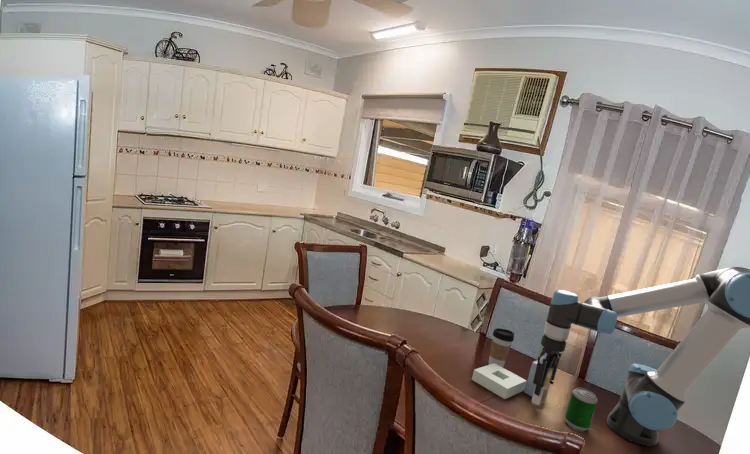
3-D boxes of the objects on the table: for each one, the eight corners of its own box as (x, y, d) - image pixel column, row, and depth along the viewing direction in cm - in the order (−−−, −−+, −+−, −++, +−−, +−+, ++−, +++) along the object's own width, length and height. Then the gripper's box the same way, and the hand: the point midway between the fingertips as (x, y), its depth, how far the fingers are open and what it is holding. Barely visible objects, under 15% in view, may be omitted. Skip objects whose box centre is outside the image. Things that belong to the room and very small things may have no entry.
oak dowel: (544, 407, 147) (554, 368, 145) (539, 410, 145) (549, 371, 143) (534, 401, 150) (544, 364, 148) (529, 404, 147) (539, 366, 145)
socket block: (524, 390, 161) (526, 380, 160) (504, 399, 151) (507, 388, 151) (491, 372, 171) (494, 362, 170) (471, 379, 161) (474, 369, 160)
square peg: (541, 395, 160) (549, 365, 158) (535, 398, 156) (544, 368, 155) (529, 389, 163) (538, 360, 161) (524, 392, 160) (532, 362, 158)
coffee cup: (507, 372, 174) (516, 337, 172) (485, 366, 175) (494, 331, 173) (505, 363, 182) (513, 330, 180) (484, 358, 183) (493, 324, 181)
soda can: (587, 436, 138) (597, 401, 137) (562, 424, 142) (572, 391, 140) (589, 426, 145) (599, 393, 143) (565, 415, 149) (575, 383, 147)
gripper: (554, 328, 152) (539, 390, 155) (532, 335, 141) (516, 402, 144) (576, 337, 147) (559, 401, 150) (555, 345, 135) (537, 414, 139)
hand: (538, 401), depth 147 cm, fingers closed on oak dowel, 3 cm apart
